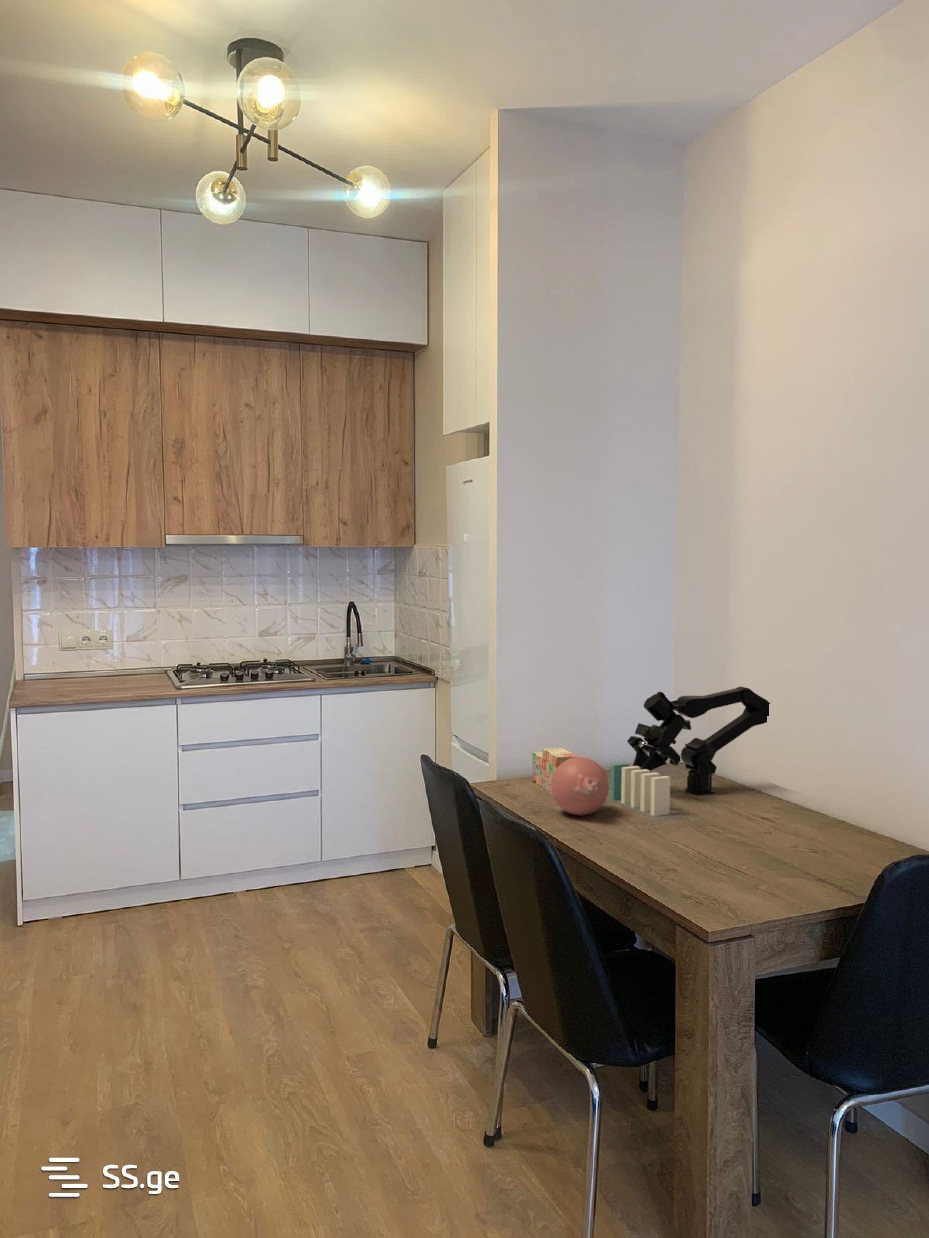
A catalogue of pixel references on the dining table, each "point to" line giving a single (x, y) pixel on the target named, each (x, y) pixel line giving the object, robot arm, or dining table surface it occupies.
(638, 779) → the domino
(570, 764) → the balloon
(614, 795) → the teal domino
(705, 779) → the robot arm
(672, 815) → the domino mat
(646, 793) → the domino
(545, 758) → the stack of blocks
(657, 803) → the domino
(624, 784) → the domino
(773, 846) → the dining table surface
